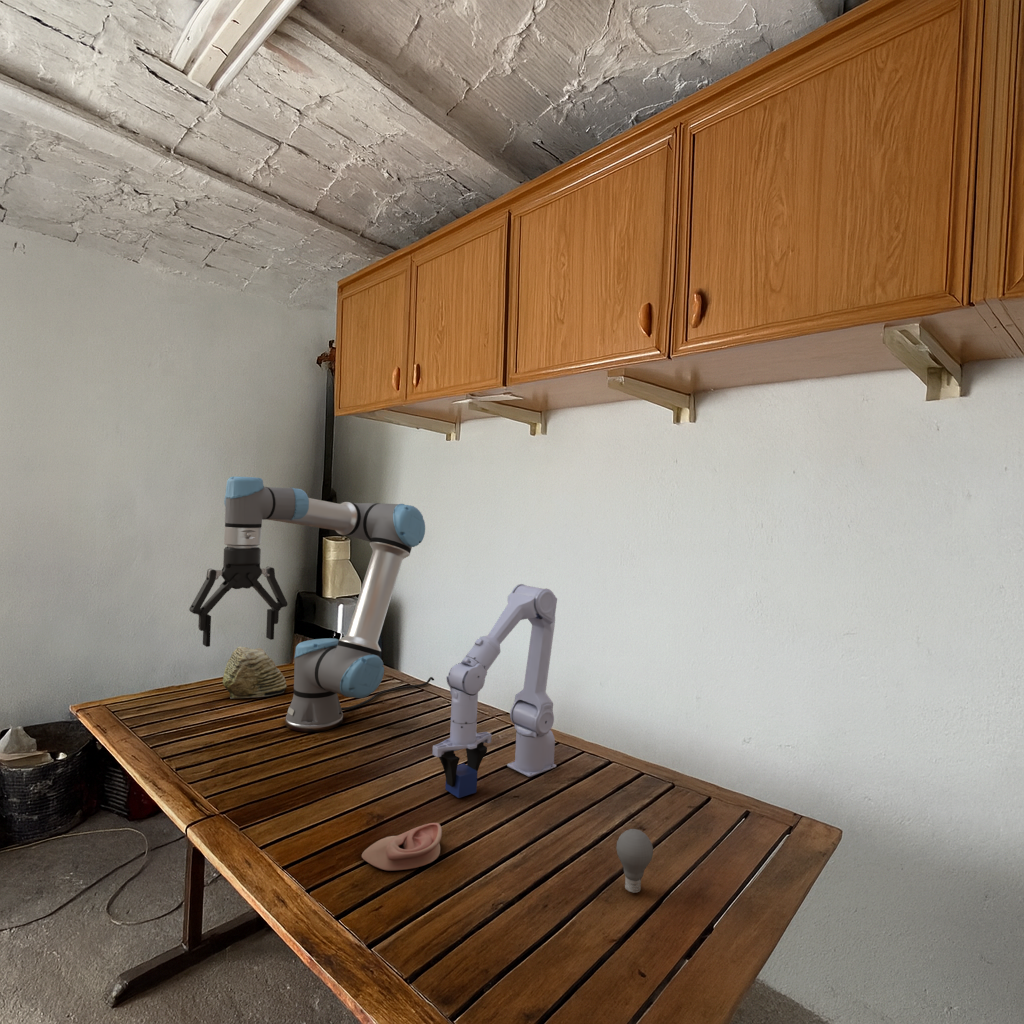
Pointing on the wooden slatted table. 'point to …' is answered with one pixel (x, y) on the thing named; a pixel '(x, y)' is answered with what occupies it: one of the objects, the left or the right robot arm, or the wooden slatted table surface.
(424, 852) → the anatomical model
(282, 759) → the wooden slatted table surface
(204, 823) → the wooden slatted table surface
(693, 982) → the wooden slatted table surface
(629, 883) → the light bulb
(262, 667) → the fossil
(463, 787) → the blue cube
